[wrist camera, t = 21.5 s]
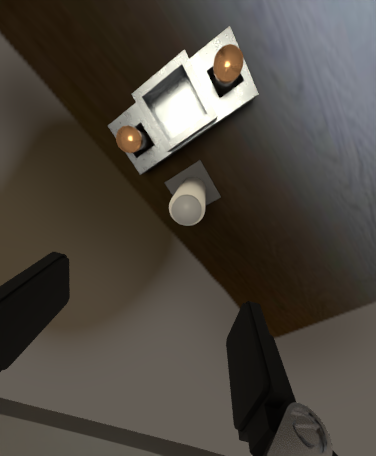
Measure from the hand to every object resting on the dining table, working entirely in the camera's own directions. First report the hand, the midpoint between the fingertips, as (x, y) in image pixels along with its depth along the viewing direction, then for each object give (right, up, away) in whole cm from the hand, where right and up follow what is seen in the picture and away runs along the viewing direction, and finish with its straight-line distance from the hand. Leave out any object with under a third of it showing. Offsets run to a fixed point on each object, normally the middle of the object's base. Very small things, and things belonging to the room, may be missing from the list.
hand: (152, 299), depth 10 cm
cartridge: (+3, +11, +27) cm, 30 cm away
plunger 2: (+8, +27, +21) cm, 35 cm away
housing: (+1, +23, +23) cm, 33 cm away
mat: (+3, +11, +28) cm, 30 cm away
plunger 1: (-6, +20, +25) cm, 32 cm away
